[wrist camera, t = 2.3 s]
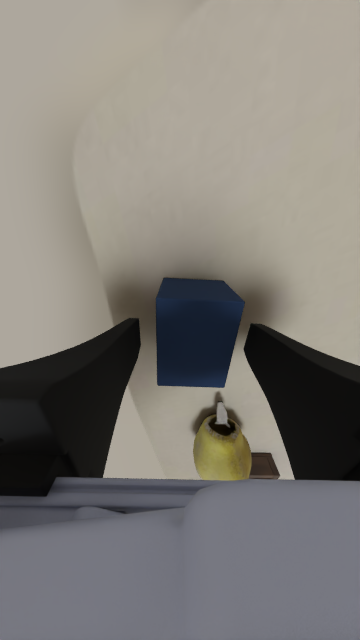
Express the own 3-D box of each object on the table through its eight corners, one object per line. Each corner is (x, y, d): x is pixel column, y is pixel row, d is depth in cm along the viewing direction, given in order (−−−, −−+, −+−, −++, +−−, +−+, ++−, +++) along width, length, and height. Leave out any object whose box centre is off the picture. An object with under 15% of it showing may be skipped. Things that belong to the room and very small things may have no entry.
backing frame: (203, 496, 29) (205, 517, 27) (216, 452, 23) (220, 474, 20) (245, 497, 30) (251, 517, 27) (271, 453, 23) (280, 475, 21)
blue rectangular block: (163, 345, 15) (157, 386, 11) (163, 277, 12) (155, 297, 8) (212, 347, 15) (224, 388, 11) (224, 280, 12) (245, 301, 8)
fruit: (246, 389, 17) (251, 454, 20) (191, 384, 19) (203, 444, 22) (251, 446, 12) (255, 522, 15) (175, 432, 14) (192, 501, 17)
